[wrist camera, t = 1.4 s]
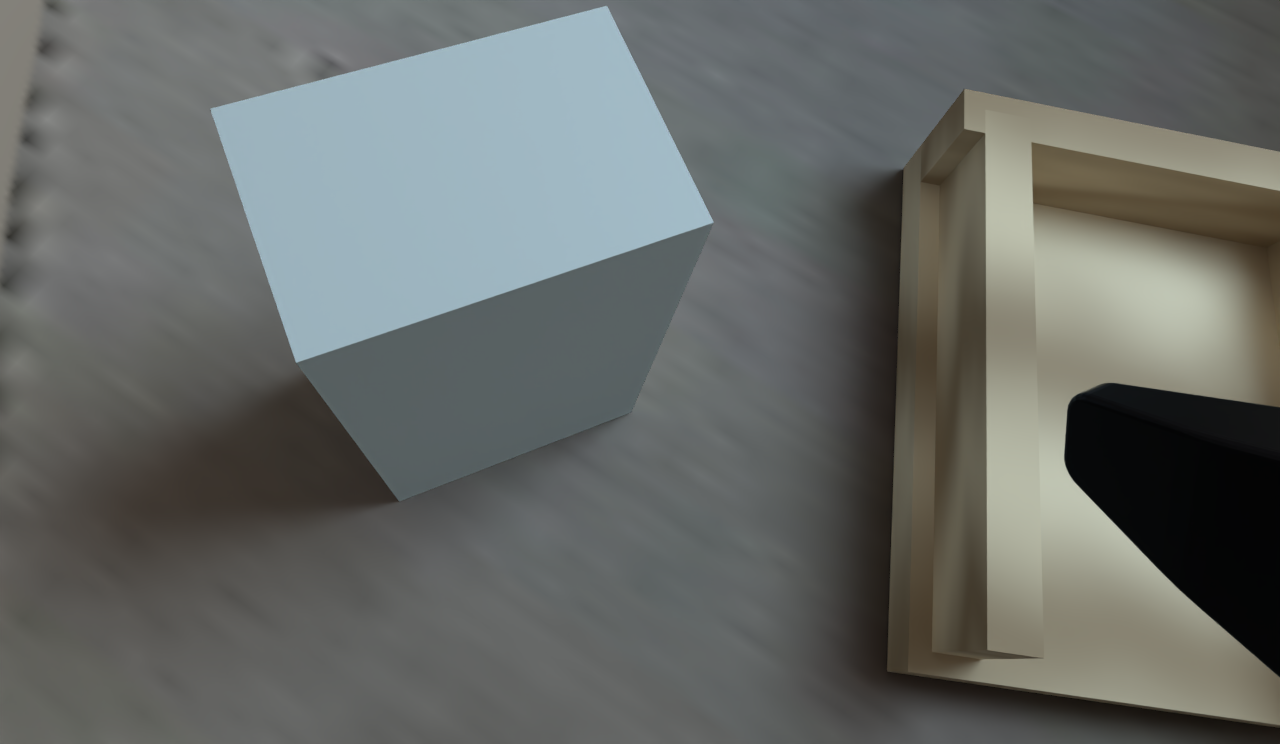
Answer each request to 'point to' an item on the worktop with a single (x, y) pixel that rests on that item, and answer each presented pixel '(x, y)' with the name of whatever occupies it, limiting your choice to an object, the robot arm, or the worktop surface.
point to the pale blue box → (471, 241)
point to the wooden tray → (1066, 394)
